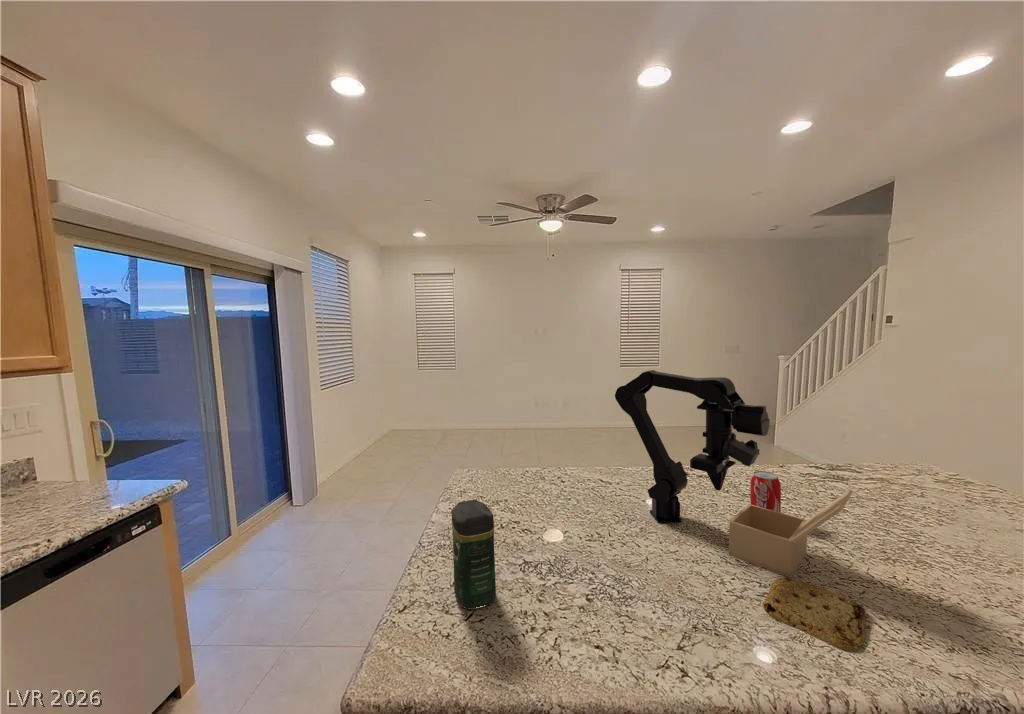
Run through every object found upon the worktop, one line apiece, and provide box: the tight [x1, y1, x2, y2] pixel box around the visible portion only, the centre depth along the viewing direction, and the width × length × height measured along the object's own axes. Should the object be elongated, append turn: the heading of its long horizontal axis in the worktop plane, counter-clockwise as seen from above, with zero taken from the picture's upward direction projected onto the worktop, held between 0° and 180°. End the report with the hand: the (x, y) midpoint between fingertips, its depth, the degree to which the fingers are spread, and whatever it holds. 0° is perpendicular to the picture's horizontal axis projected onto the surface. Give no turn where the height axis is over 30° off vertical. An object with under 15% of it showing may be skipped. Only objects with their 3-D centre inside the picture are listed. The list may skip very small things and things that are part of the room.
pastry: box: [763, 576, 868, 653], centre depth 72 cm, size 17×17×3 cm
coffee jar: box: [451, 499, 497, 609], centre depth 79 cm, size 10×8×19 cm
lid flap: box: [792, 489, 854, 543], centre depth 83 cm, size 12×12×1 cm
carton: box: [728, 503, 808, 578], centre depth 91 cm, size 12×13×8 cm
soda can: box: [749, 470, 782, 513], centre depth 108 cm, size 7×7×12 cm
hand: (718, 489), depth 98 cm, fingers closed
